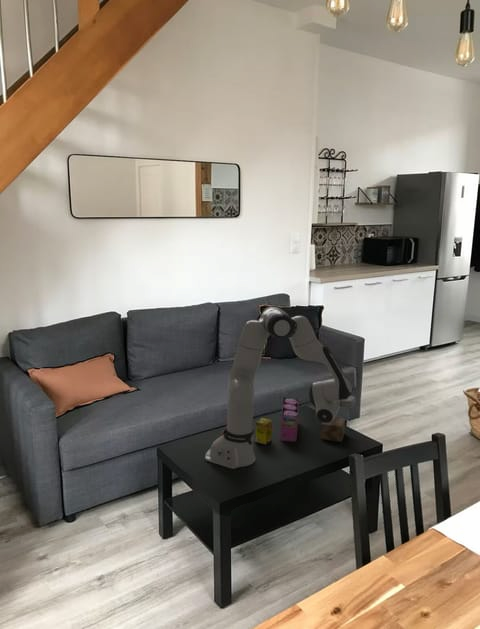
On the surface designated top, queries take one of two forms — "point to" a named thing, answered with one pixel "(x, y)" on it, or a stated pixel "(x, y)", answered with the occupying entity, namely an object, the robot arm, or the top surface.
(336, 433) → the walnut block
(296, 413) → the gum box
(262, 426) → the supplement box
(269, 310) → the robot arm
